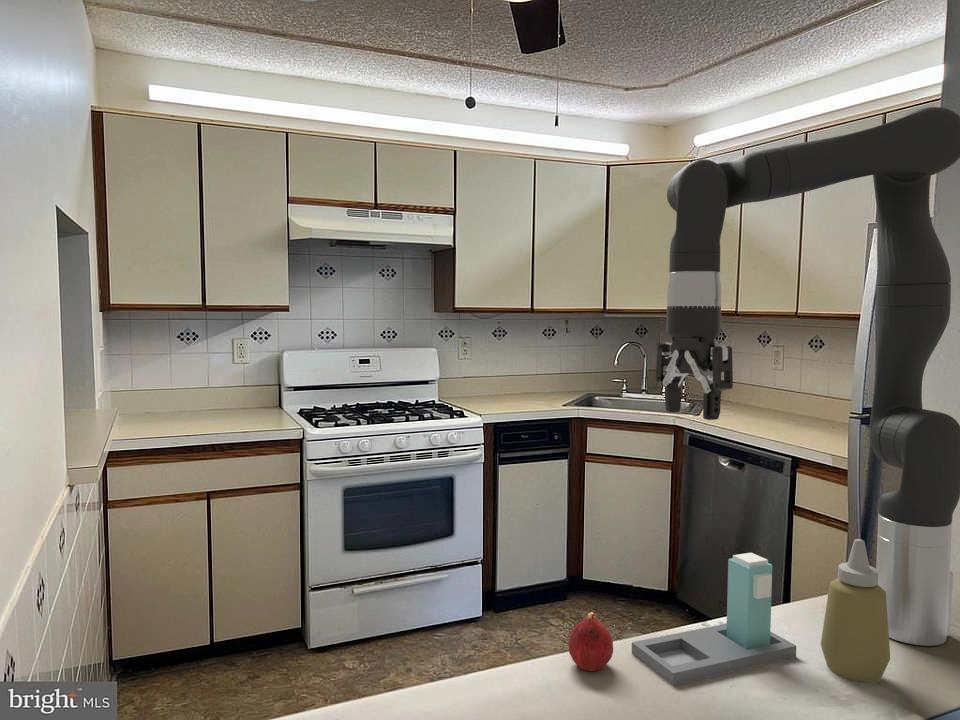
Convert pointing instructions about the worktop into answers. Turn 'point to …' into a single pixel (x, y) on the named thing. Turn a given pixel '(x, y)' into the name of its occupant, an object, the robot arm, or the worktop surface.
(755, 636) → the plug
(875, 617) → the squeeze bottle
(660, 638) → the panel
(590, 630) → the onion
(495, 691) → the worktop surface
